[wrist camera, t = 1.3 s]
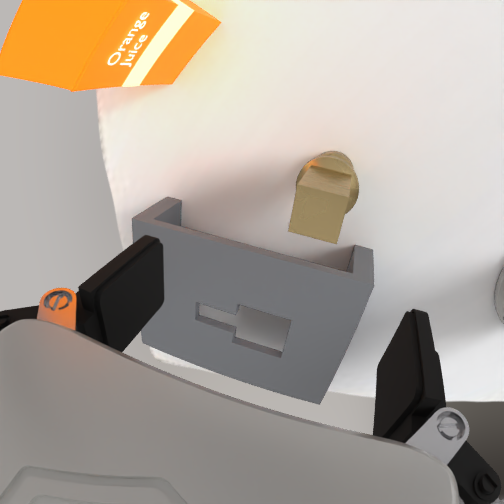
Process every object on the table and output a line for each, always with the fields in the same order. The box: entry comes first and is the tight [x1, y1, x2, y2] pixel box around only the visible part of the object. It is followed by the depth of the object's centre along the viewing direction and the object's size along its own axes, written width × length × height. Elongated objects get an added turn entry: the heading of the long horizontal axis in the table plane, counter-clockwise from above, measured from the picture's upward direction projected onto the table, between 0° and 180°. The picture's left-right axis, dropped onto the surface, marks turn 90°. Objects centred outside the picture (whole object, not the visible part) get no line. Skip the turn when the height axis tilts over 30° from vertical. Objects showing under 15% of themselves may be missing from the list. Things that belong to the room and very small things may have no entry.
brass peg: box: [288, 151, 359, 244], centre depth 25 cm, size 5×5×12 cm
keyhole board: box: [132, 197, 374, 404], centre depth 37 cm, size 24×18×7 cm
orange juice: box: [0, 0, 221, 92], centre depth 20 cm, size 8×9×20 cm
